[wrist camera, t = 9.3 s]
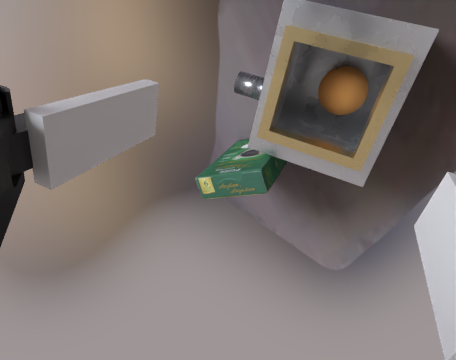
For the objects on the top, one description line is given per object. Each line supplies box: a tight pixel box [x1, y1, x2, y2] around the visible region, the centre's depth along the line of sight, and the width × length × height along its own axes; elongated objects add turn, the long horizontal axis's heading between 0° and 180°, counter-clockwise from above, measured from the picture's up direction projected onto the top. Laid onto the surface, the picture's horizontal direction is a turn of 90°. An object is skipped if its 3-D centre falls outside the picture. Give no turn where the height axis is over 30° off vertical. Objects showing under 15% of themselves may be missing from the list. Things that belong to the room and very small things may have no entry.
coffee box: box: [195, 139, 287, 199], centre depth 38 cm, size 8×3×13 cm, turn 107°
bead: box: [318, 66, 368, 115], centre depth 33 cm, size 5×5×5 cm
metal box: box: [234, 0, 439, 187], centre depth 32 cm, size 14×16×12 cm
